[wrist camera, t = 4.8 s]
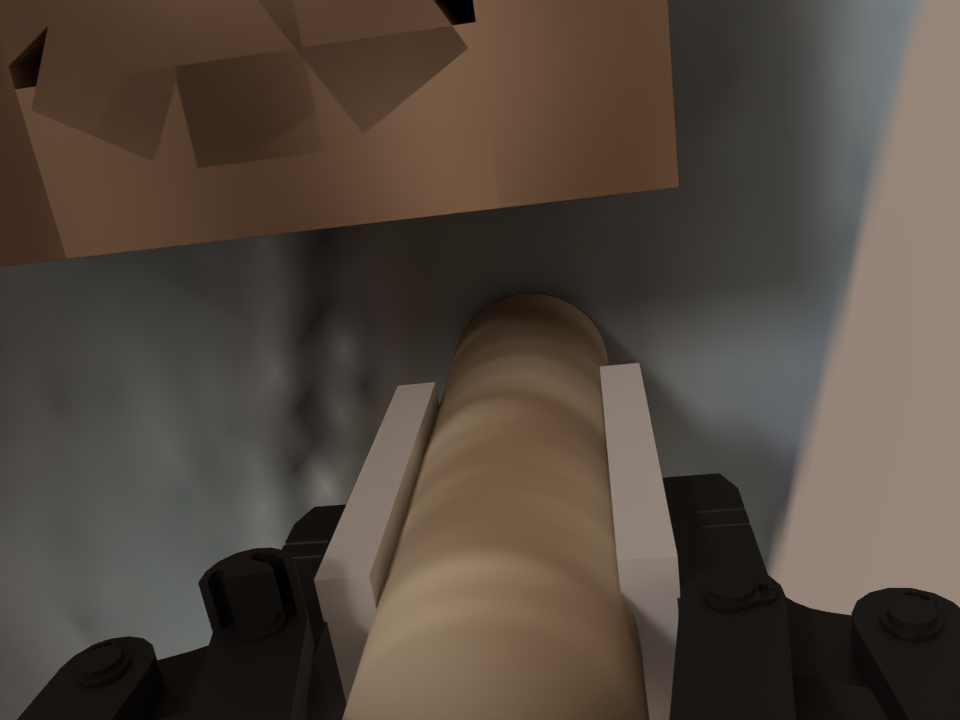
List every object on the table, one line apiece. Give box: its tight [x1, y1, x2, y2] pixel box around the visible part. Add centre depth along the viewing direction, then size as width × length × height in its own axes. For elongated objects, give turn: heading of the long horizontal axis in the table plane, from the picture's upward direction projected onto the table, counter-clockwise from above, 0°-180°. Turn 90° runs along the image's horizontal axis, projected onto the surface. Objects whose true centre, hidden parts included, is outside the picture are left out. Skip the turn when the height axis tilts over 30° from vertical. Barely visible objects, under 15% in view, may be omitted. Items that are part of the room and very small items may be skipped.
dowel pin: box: [343, 294, 649, 720], centre depth 16 cm, size 4×4×12 cm
